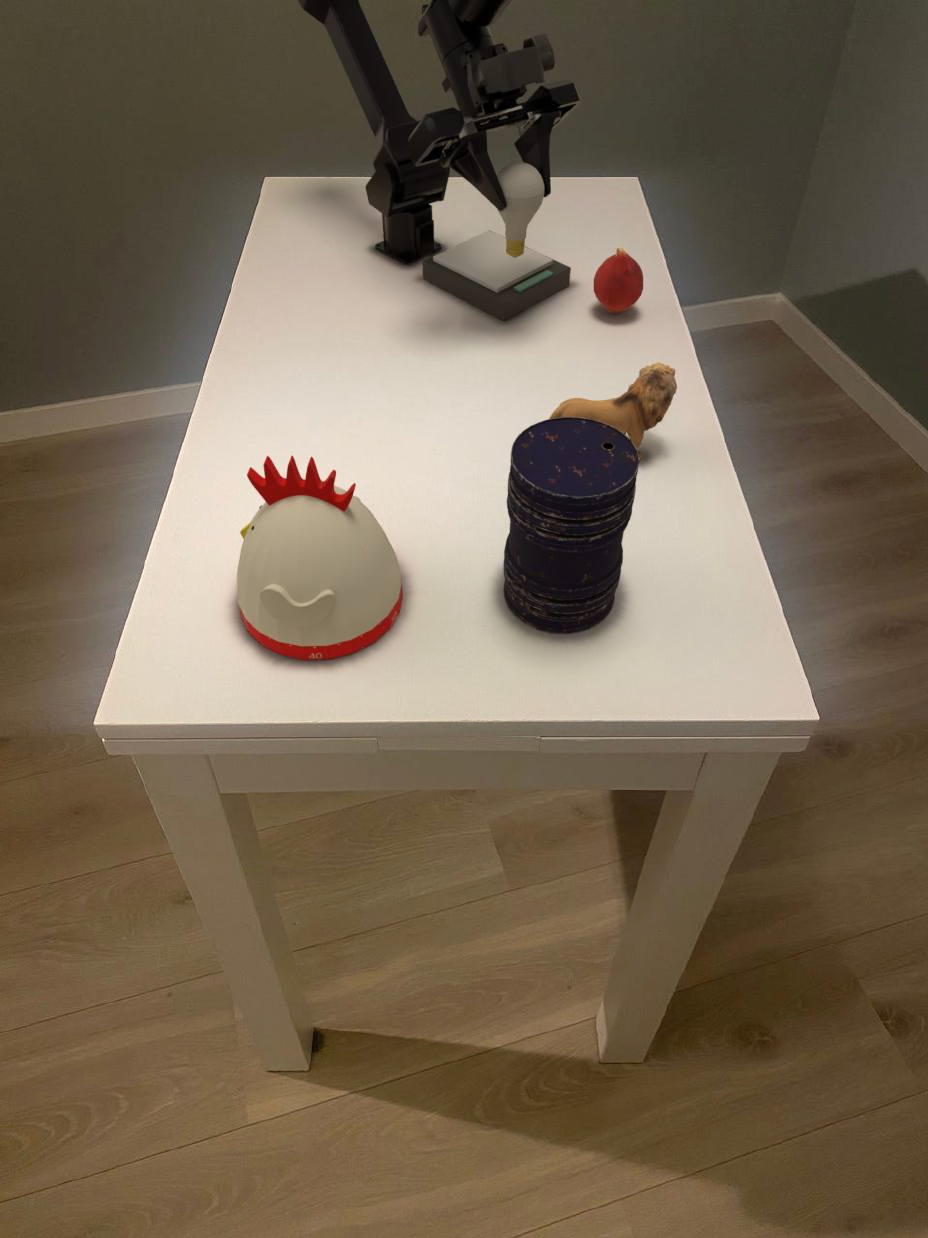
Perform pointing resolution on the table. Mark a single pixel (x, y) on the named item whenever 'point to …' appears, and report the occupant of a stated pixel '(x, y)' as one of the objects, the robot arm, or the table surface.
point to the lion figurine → (629, 404)
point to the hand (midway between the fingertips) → (525, 202)
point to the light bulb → (519, 202)
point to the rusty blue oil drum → (567, 522)
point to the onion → (618, 282)
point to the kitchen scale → (495, 275)
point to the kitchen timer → (315, 567)
